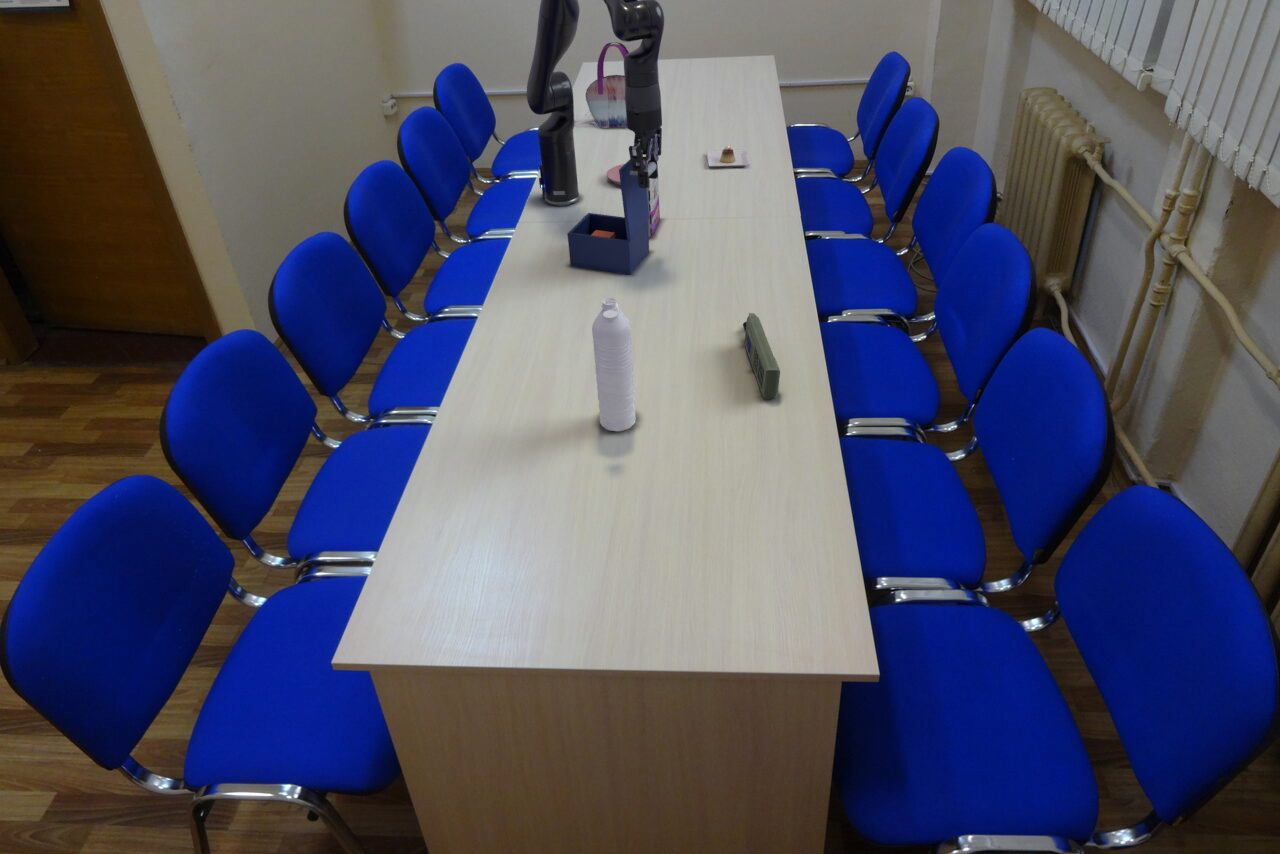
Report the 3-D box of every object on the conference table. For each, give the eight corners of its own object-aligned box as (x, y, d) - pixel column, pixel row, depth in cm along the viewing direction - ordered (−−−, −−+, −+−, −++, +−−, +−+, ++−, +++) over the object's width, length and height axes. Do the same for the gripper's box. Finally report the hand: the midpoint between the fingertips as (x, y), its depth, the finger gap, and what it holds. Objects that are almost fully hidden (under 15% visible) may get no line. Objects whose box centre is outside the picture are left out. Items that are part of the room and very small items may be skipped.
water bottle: (599, 411, 158) (589, 292, 143) (634, 409, 158) (628, 289, 143) (600, 441, 151) (590, 319, 136) (637, 438, 151) (630, 316, 136)
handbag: (583, 128, 281) (577, 48, 265) (587, 118, 288) (581, 39, 273) (648, 127, 279) (645, 46, 263) (650, 117, 286) (648, 38, 271)
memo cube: (588, 257, 206) (587, 238, 203) (597, 248, 209) (595, 229, 206) (607, 260, 204) (606, 241, 201) (616, 251, 208) (614, 232, 205)
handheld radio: (760, 400, 159) (737, 329, 178) (778, 399, 159) (752, 329, 179) (764, 370, 155) (739, 301, 174) (782, 369, 155) (755, 301, 175)
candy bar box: (641, 218, 224) (638, 157, 214) (660, 219, 223) (658, 158, 213) (632, 237, 215) (629, 174, 205) (652, 238, 214) (649, 175, 204)
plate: (665, 174, 247) (665, 168, 245) (639, 192, 237) (639, 185, 236) (624, 166, 253) (624, 160, 252) (597, 183, 244) (596, 176, 242)
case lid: (618, 169, 185) (641, 170, 183) (639, 150, 193) (661, 150, 192) (627, 240, 194) (649, 241, 192) (646, 218, 203) (667, 219, 201)
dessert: (749, 168, 248) (750, 151, 245) (708, 169, 248) (708, 153, 246) (746, 153, 257) (746, 137, 255) (706, 154, 258) (706, 138, 255)
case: (570, 265, 205) (567, 233, 199) (591, 243, 213) (588, 212, 208) (630, 274, 200) (628, 242, 195) (649, 252, 208) (648, 220, 203)
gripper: (639, 94, 187) (644, 170, 197) (613, 114, 176) (620, 193, 187) (671, 95, 184) (675, 172, 195) (647, 116, 174) (652, 196, 184)
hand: (648, 182), depth 191 cm, fingers closed on case lid, 5 cm apart
